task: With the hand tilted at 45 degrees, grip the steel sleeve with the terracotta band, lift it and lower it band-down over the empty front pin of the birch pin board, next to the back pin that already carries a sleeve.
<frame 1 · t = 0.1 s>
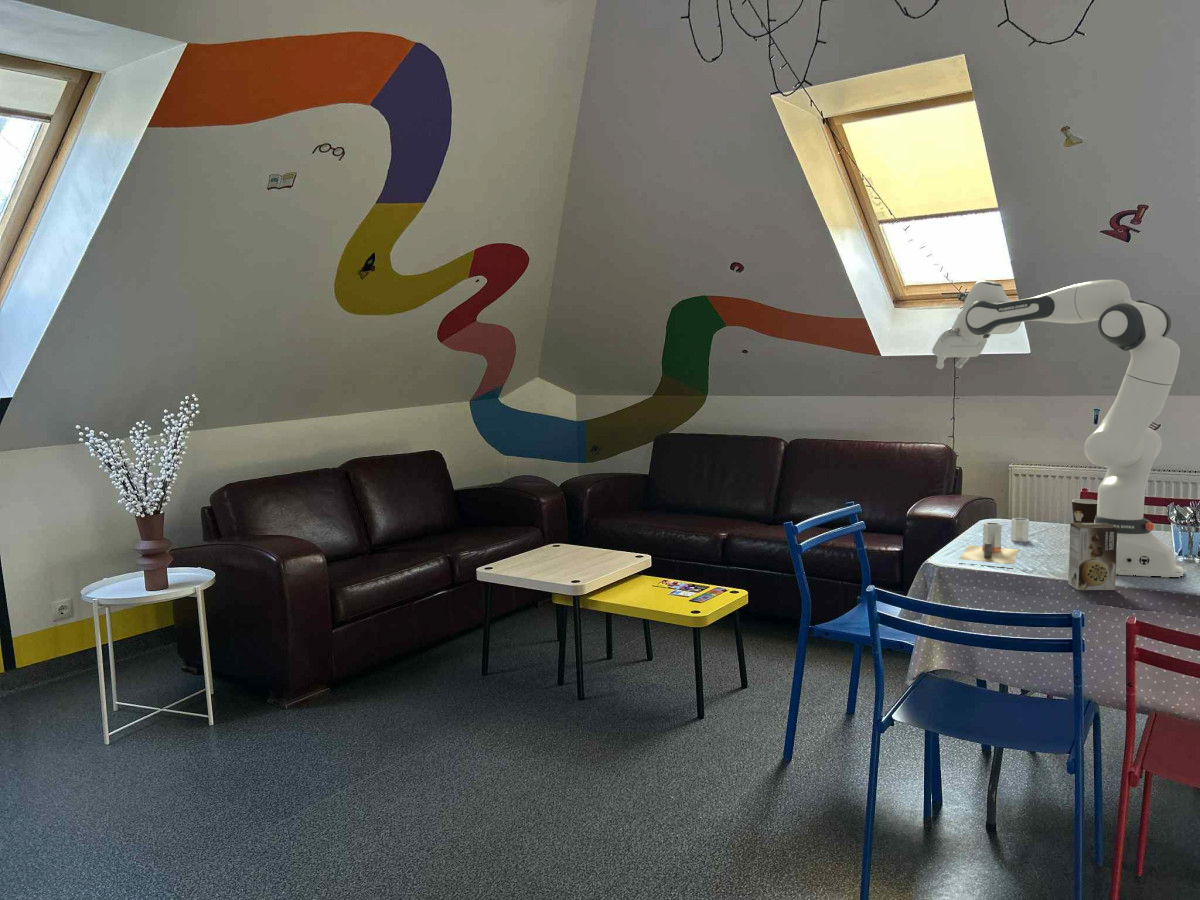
hand: (948, 367, 291), 54 cm above the table, tool tilted 30°, fingers open, 8 cm apart
coffee mug: (1087, 533, 297), on the table
coffee box: (1090, 588, 230), on the table
steel sleeve: (1019, 545, 279), on the table
pin board: (989, 559, 261), on the table
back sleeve: (991, 550, 266), point 1 cm above the table, touching pin board
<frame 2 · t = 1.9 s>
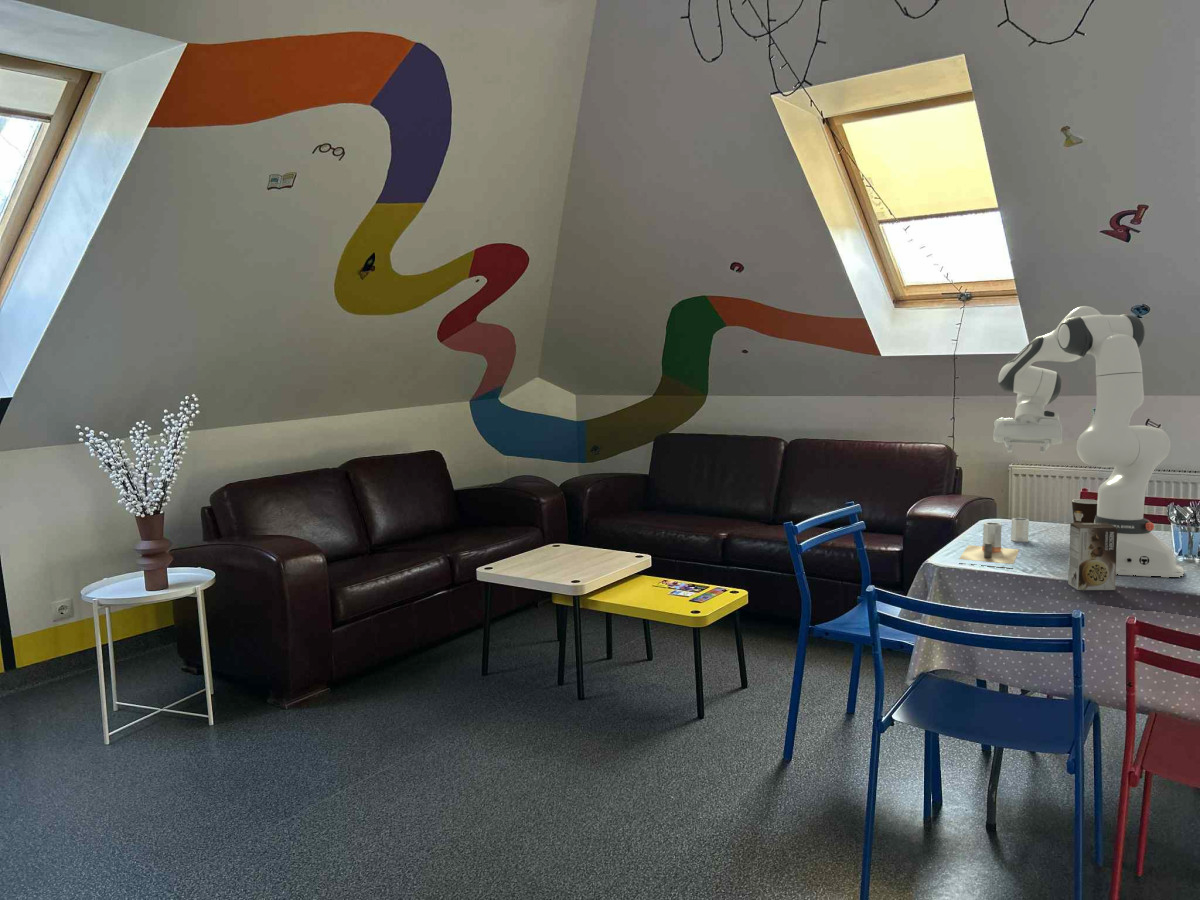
hand: (1025, 452, 288), 27 cm above the table, tool tilted 45°, fingers open, 8 cm apart
nothing on the table moved.
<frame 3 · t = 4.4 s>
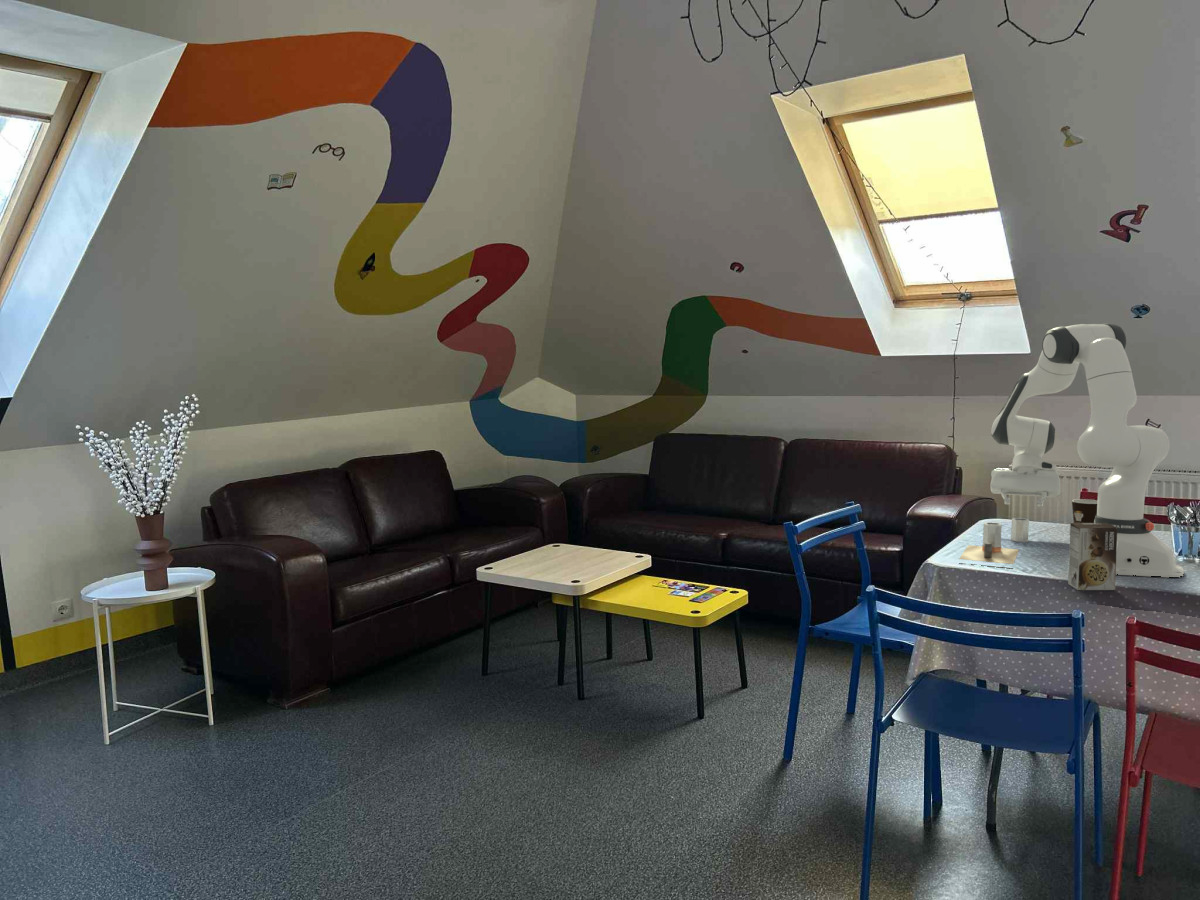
hand: (1023, 504, 285), 11 cm above the table, tool tilted 45°, fingers open, 8 cm apart
nothing on the table moved.
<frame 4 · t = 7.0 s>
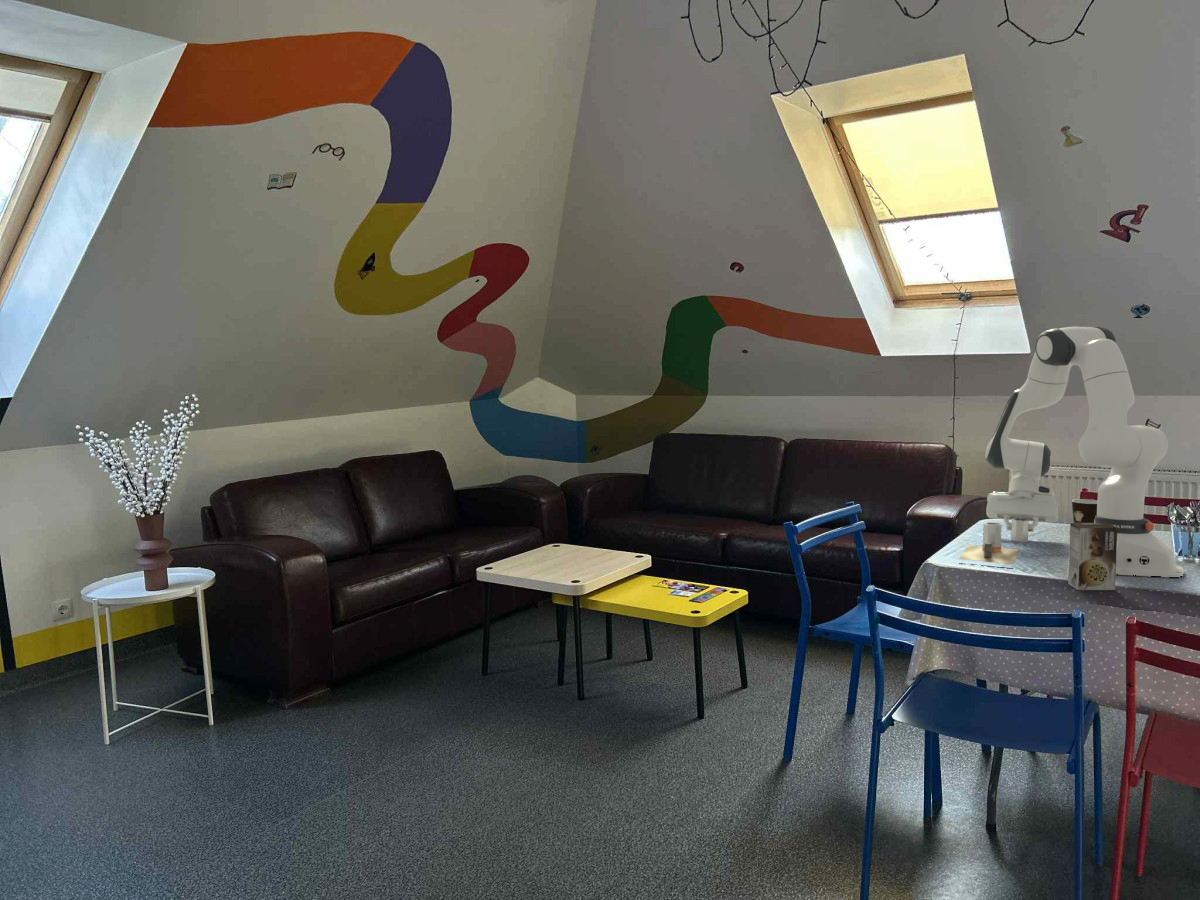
hand: (1019, 529, 278), 5 cm above the table, tool tilted 45°, fingers closed on steel sleeve, 5 cm apart
steel sleeve: (1019, 545, 279), on the table, touching gripper
everything else where it was.
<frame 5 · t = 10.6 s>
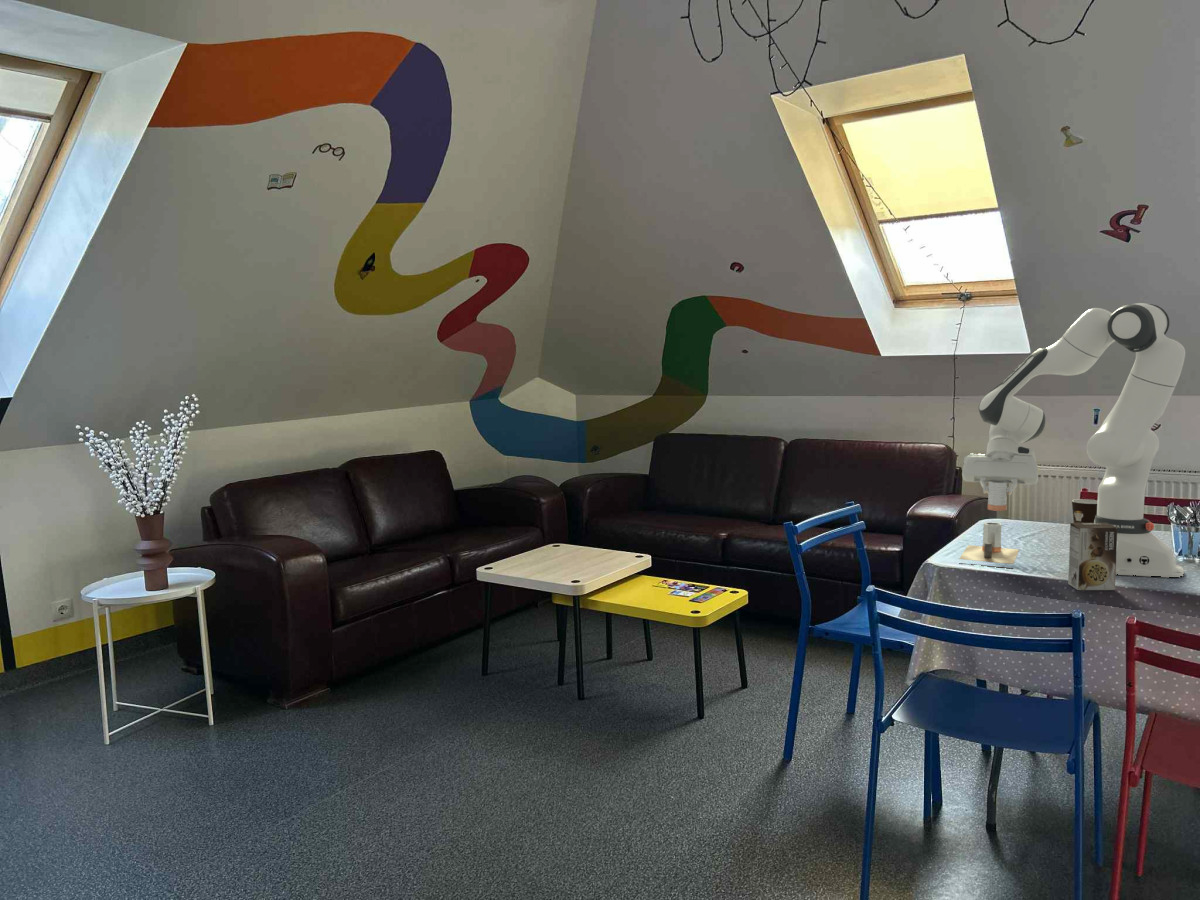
hand: (997, 492, 260), 19 cm above the table, tool tilted 45°, fingers closed on steel sleeve, 5 cm apart
steel sleeve: (997, 509, 261), point 14 cm above the table, touching gripper
everything else where it was.
when the fingers open (8 cm above the table, at t = 14.4 s): steel sleeve drops 2 cm, resting on pin board.
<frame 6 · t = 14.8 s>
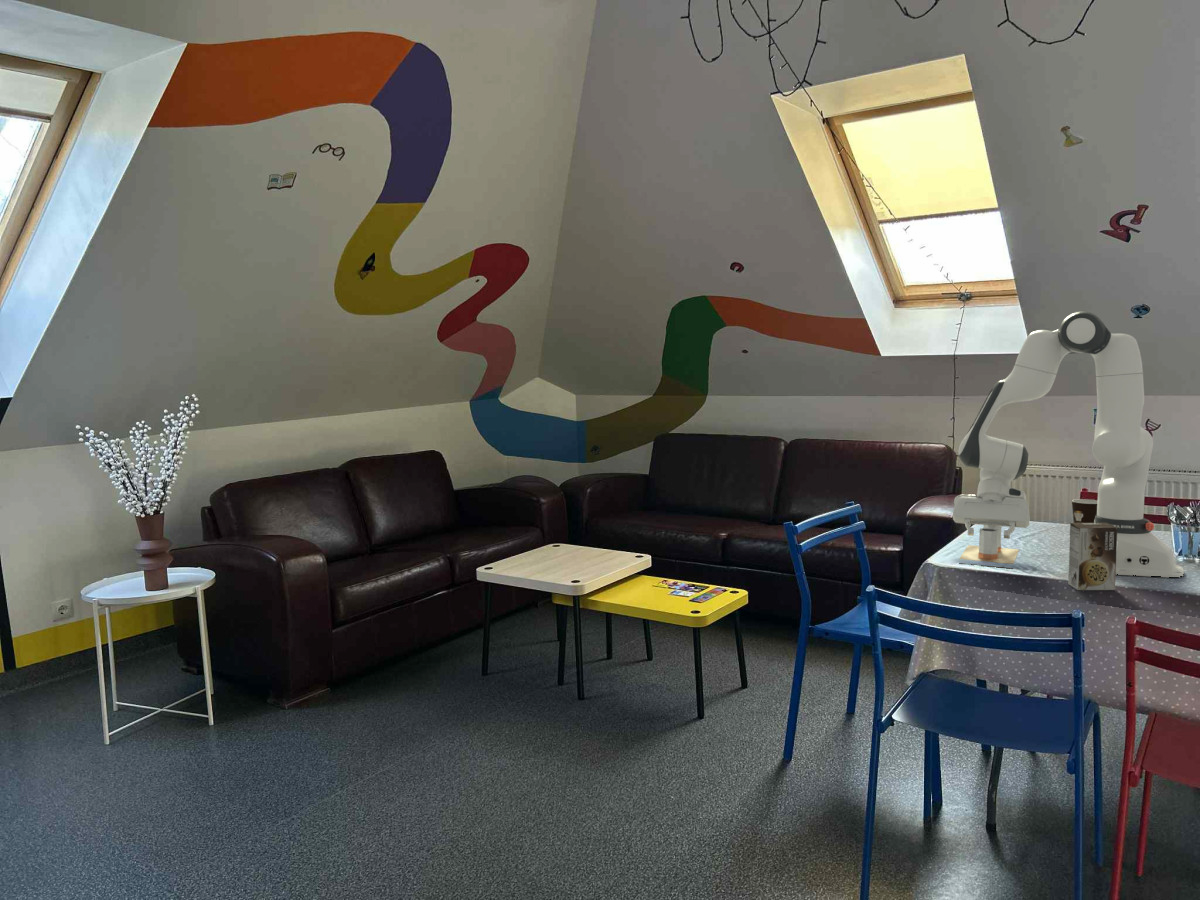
hand: (988, 535, 256), 8 cm above the table, tool tilted 45°, fingers open, 8 cm apart
steel sleeve: (988, 557, 257), point 1 cm above the table, touching pin board
everything else where it was.
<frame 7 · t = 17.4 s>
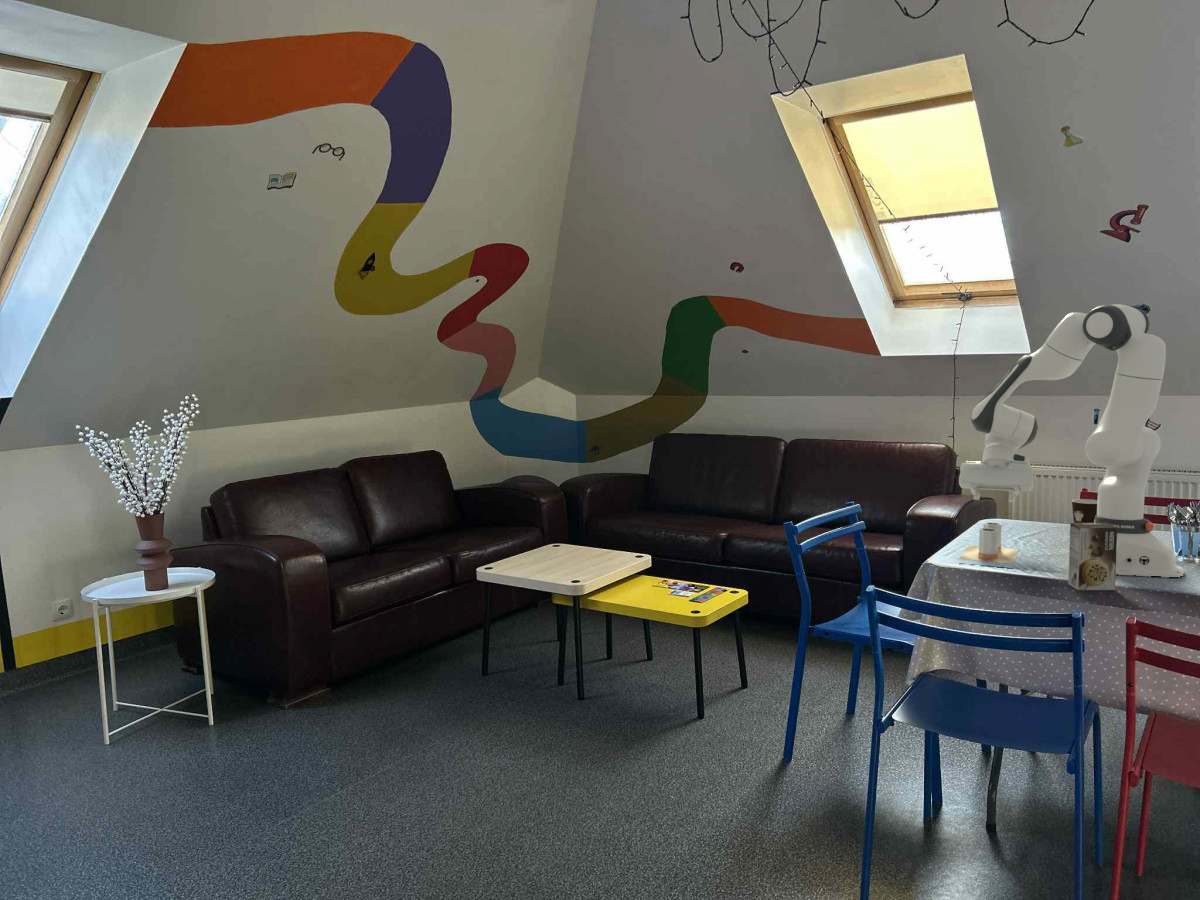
hand: (993, 499, 264), 16 cm above the table, tool tilted 45°, fingers open, 8 cm apart
nothing on the table moved.
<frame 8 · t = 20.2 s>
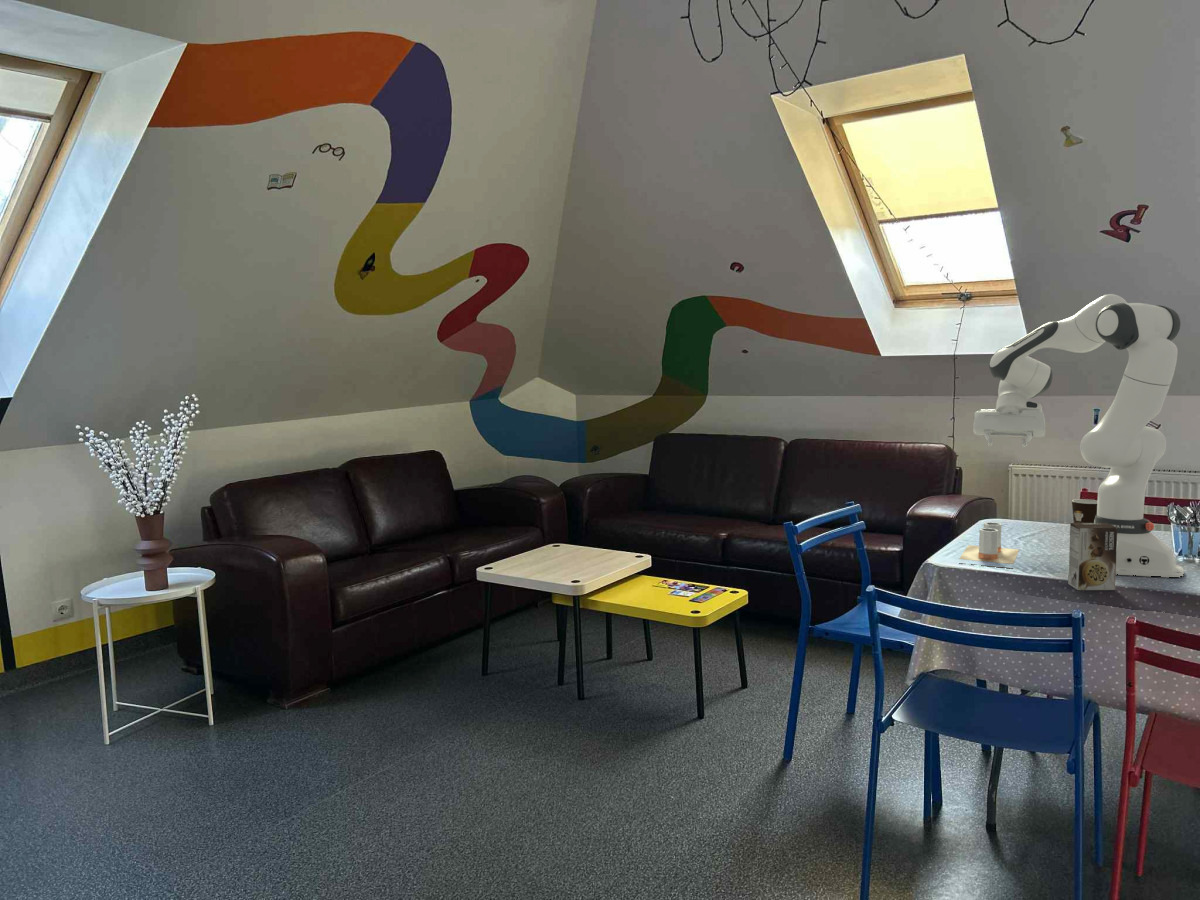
hand: (1006, 444, 273), 31 cm above the table, tool tilted 45°, fingers open, 8 cm apart
nothing on the table moved.
at the end: steel sleeve 0.1 cm from the target spot on the pin board, point 1.5 cm above the pin board's base; steel sleeve tilted 0°; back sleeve moved 0.0 cm from its start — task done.
